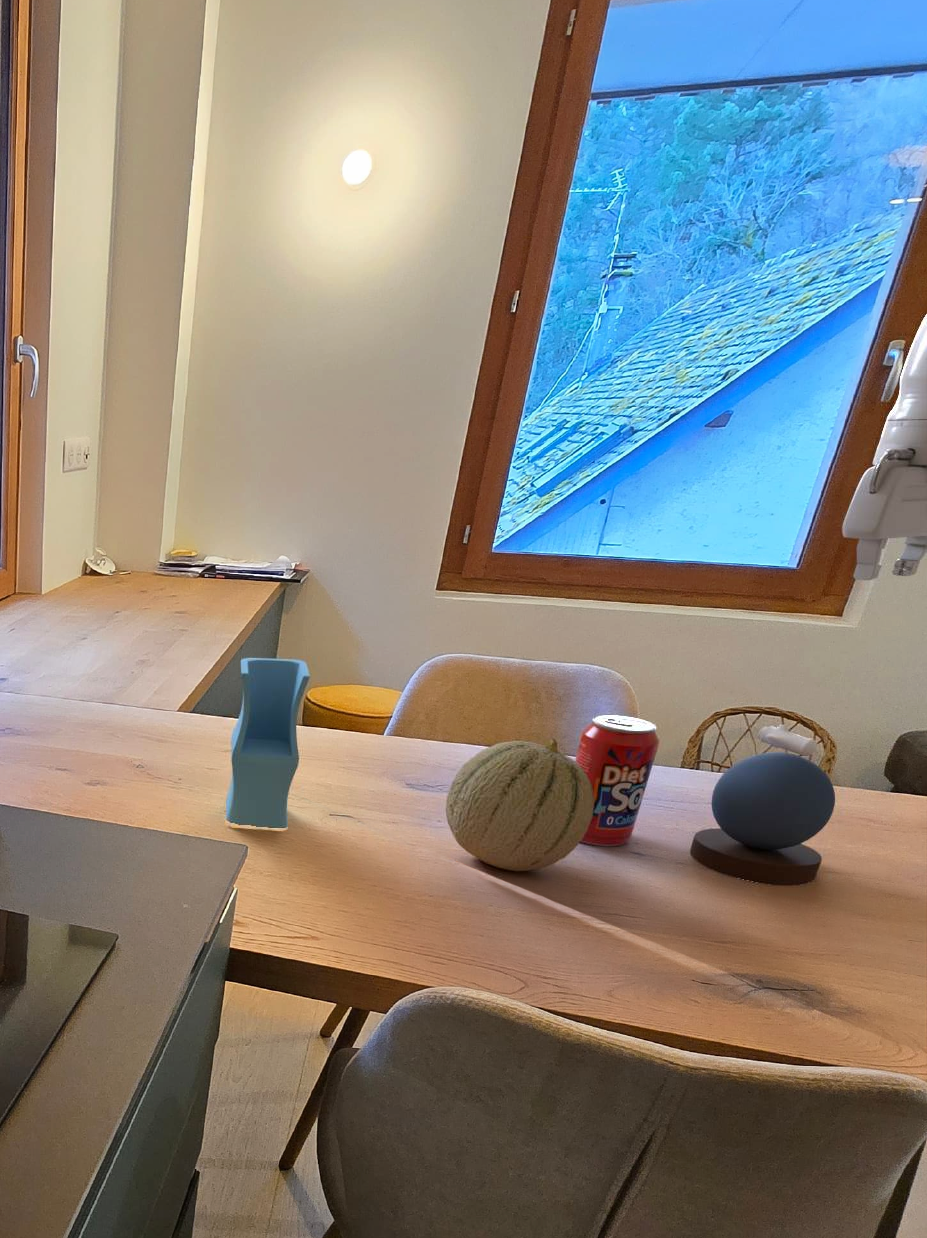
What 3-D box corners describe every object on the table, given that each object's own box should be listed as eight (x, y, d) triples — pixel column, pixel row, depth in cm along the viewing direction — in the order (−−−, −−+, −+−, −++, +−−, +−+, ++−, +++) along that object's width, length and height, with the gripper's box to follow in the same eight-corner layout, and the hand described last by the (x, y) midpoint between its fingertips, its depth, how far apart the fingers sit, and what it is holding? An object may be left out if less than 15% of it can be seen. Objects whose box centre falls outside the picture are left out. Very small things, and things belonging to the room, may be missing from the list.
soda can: (563, 821, 131) (593, 708, 125) (633, 836, 127) (668, 720, 120) (549, 841, 126) (580, 724, 119) (622, 857, 121) (658, 737, 115)
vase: (224, 827, 129) (241, 673, 121) (224, 804, 136) (240, 656, 128) (288, 832, 128) (310, 676, 119) (285, 809, 135) (305, 659, 126)
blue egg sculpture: (835, 874, 116) (877, 760, 111) (781, 894, 111) (822, 776, 106) (722, 841, 126) (755, 735, 121) (667, 858, 121) (699, 748, 116)
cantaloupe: (411, 860, 120) (435, 738, 113) (473, 828, 128) (499, 713, 121) (539, 905, 109) (574, 774, 103) (598, 867, 118) (634, 743, 111)
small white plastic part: (791, 760, 111) (796, 732, 110) (750, 748, 116) (755, 721, 115) (824, 758, 110) (830, 729, 109) (782, 746, 116) (788, 719, 115)
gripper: (920, 448, 106) (873, 585, 112) (1003, 449, 115) (956, 576, 121) (849, 448, 111) (807, 579, 117) (933, 449, 120) (891, 570, 126)
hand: (883, 577), depth 119 cm, fingers open, 8 cm apart
